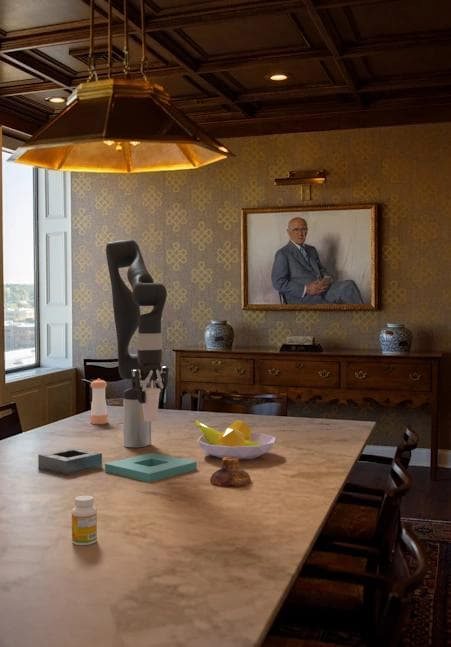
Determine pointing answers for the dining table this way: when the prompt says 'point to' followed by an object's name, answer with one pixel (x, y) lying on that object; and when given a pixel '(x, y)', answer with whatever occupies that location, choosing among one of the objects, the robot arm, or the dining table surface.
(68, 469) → the tall socket
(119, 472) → the low socket
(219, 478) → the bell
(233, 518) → the dining table surface
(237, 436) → the fruit bowl
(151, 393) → the smoothie
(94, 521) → the supplement bottle
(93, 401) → the pepper shaker
